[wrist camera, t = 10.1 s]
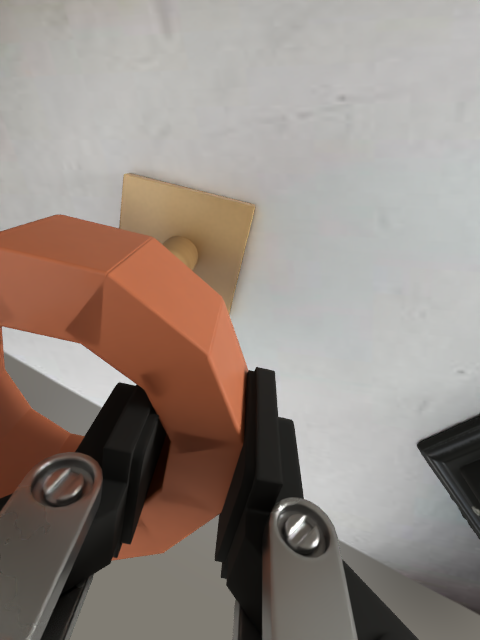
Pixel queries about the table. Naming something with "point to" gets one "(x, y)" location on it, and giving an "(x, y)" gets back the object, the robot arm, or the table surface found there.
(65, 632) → the robot arm
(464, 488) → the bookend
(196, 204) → the ring stand
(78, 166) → the table surface
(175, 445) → the ring
